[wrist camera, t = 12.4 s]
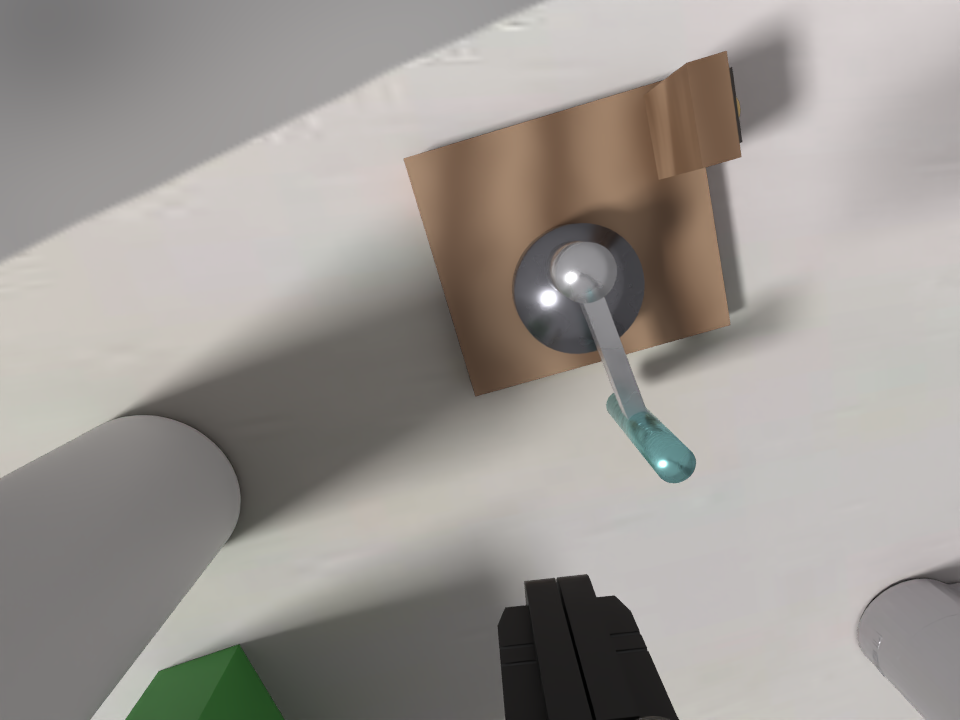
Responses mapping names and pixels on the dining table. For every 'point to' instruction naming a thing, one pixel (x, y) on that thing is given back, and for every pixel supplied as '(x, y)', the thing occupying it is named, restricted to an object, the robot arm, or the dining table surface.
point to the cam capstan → (596, 323)
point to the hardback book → (207, 691)
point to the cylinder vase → (102, 557)
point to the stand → (584, 213)
